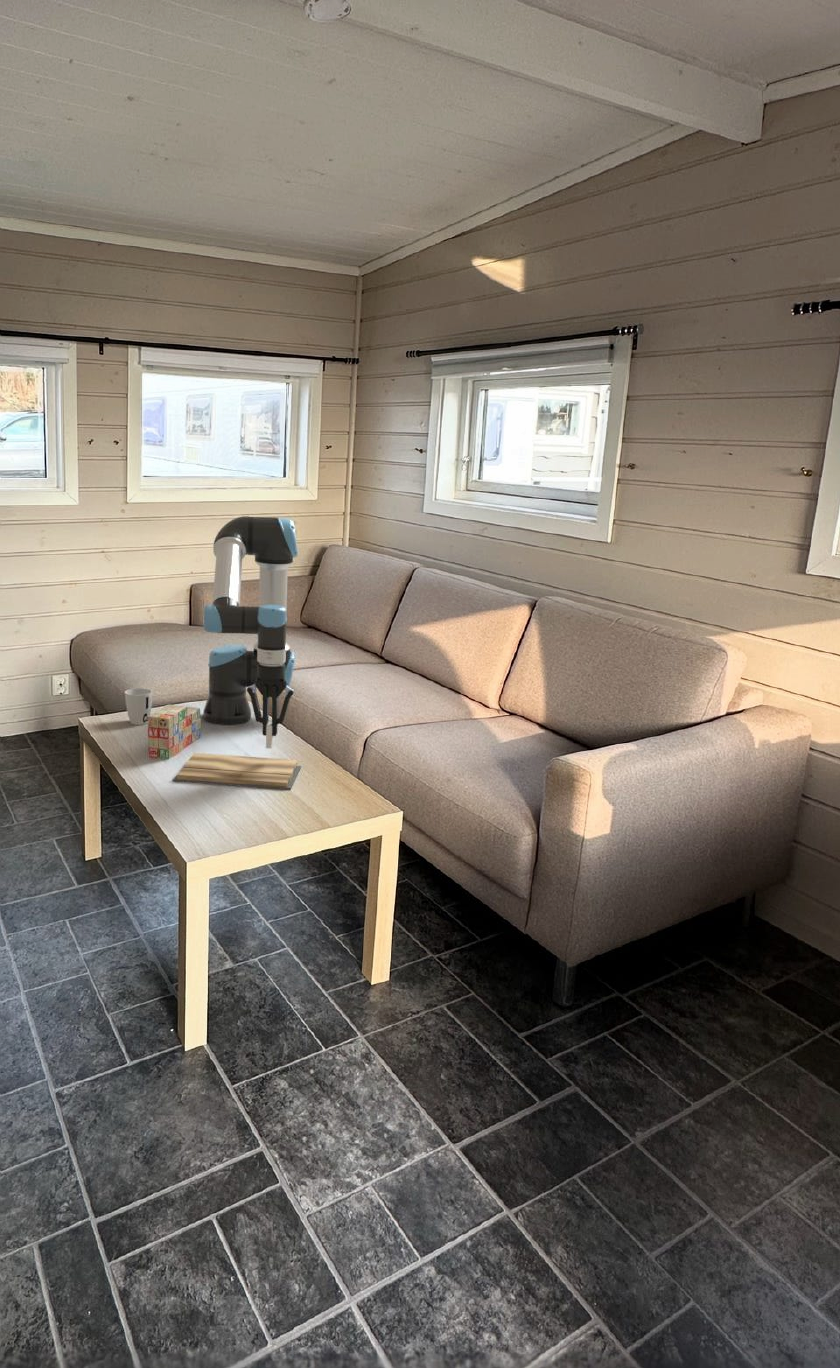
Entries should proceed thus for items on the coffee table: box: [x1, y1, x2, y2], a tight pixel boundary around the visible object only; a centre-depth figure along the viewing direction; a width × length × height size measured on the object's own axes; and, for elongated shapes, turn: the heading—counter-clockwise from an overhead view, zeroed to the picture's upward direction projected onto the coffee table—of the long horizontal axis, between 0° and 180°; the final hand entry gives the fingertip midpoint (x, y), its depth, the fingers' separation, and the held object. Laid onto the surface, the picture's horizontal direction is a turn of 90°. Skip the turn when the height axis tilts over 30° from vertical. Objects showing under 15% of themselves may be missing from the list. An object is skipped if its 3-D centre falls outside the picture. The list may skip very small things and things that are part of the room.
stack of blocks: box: [147, 703, 202, 760], centre depth 262 cm, size 21×6×12 cm, turn 169°
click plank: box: [183, 752, 298, 778], centre depth 248 cm, size 10×29×1 cm, turn 88°
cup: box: [124, 687, 153, 726], centre depth 282 cm, size 8×8×10 cm
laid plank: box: [176, 767, 291, 787], centre depth 240 cm, size 6×29×1 cm, turn 88°
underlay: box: [172, 764, 302, 791], centre depth 245 cm, size 17×31×1 cm, turn 88°
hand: (269, 746), depth 250 cm, fingers closed
